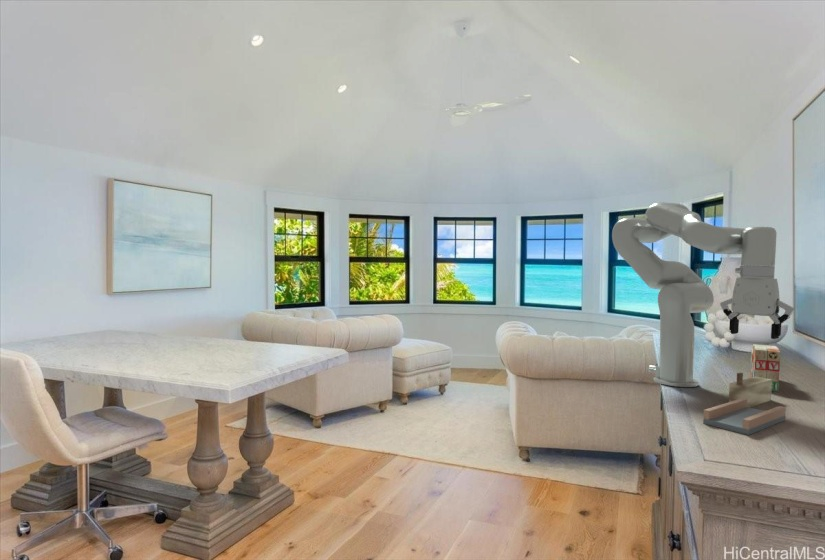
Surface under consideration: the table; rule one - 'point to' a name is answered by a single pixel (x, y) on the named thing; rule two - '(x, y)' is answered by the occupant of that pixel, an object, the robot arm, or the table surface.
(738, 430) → the jig cradle
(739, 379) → the tapered cream block
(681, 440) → the table surface
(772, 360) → the stack of blocks
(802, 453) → the table surface
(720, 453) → the table surface
